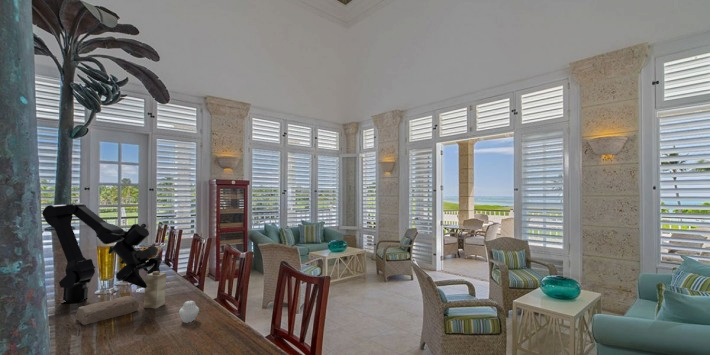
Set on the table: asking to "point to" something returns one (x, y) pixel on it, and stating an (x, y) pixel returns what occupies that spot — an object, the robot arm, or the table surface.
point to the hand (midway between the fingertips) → (154, 284)
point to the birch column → (155, 290)
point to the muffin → (188, 311)
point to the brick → (107, 309)
